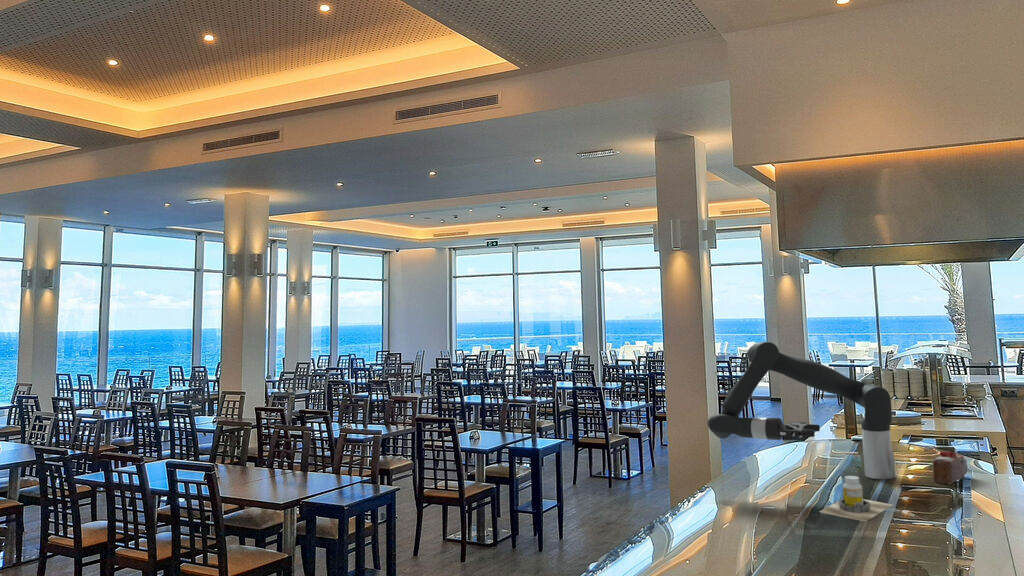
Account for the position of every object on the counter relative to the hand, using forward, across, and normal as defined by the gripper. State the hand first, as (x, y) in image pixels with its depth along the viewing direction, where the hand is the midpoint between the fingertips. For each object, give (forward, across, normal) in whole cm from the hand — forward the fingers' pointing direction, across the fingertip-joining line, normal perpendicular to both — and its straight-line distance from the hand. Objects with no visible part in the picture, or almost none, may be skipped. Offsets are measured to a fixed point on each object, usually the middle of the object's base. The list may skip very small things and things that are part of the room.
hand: (816, 430), depth 224 cm
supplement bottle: (+11, -10, +22) cm, 26 cm away
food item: (+35, +38, +24) cm, 57 cm away
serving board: (+12, -10, +23) cm, 27 cm away
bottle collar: (+11, -10, +22) cm, 26 cm away
